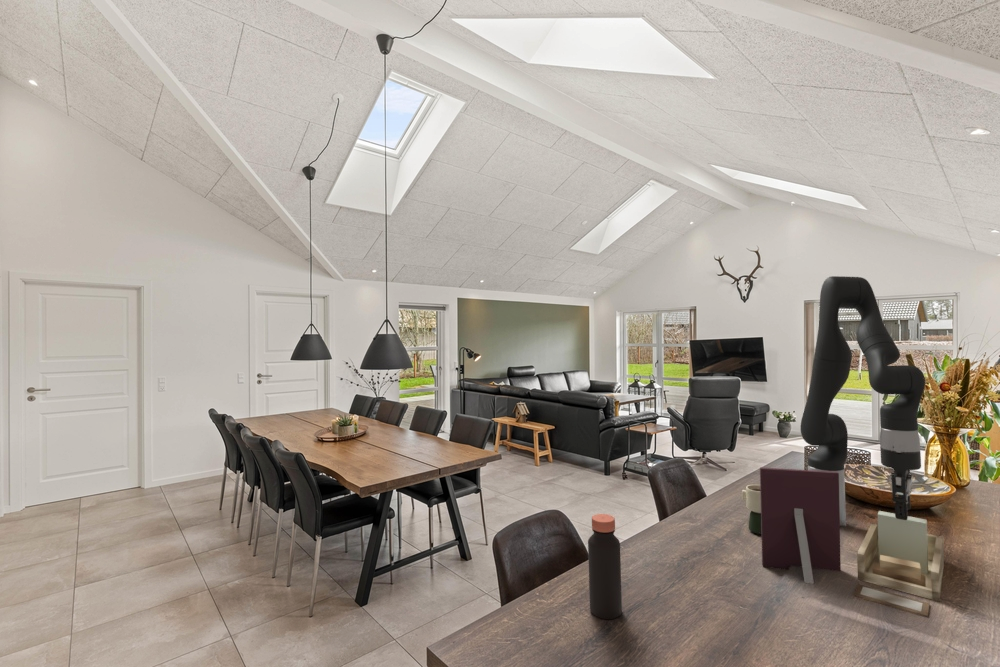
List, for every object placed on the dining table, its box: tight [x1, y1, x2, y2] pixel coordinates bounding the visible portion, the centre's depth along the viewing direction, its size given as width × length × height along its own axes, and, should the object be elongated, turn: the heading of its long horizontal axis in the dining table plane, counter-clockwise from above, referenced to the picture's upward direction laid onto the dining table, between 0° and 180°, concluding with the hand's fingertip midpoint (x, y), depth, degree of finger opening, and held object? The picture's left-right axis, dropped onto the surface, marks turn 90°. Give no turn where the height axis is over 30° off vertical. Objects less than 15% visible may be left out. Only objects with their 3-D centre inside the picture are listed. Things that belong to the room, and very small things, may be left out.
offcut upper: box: [880, 555, 921, 580], centre depth 109 cm, size 7×3×2 cm, turn 51°
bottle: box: [587, 513, 623, 620], centre depth 103 cm, size 7×7×20 cm
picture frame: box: [759, 467, 842, 585], centre depth 114 cm, size 17×10×25 cm, turn 71°
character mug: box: [741, 484, 761, 535], centre depth 141 cm, size 11×7×13 cm, turn 30°
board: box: [853, 583, 930, 618], centre depth 102 cm, size 12×6×2 cm, turn 45°
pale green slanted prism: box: [877, 510, 928, 575], centre depth 116 cm, size 9×3×12 cm, turn 45°
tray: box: [856, 522, 945, 602], centre depth 115 cm, size 14×24×7 cm, turn 135°
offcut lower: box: [872, 563, 926, 587], centre depth 109 cm, size 9×4×2 cm, turn 45°
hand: (903, 514), depth 116 cm, fingers open, 8 cm apart
